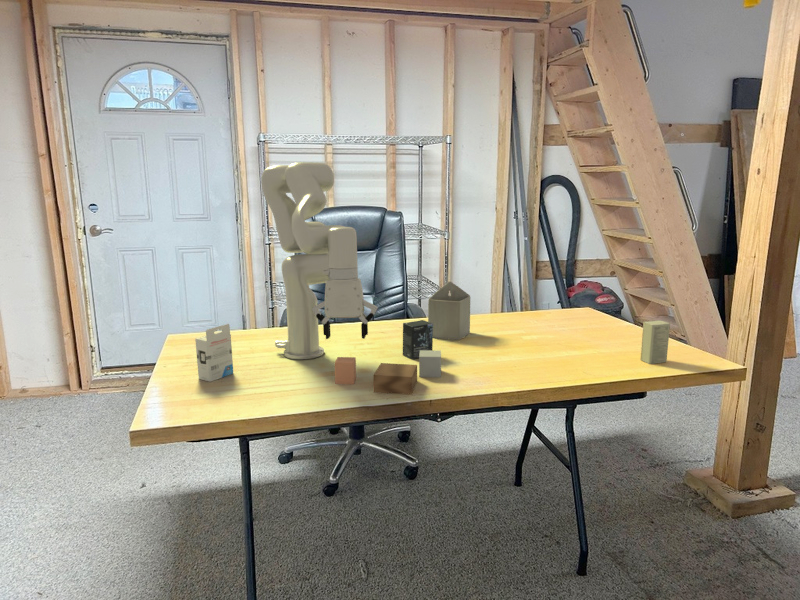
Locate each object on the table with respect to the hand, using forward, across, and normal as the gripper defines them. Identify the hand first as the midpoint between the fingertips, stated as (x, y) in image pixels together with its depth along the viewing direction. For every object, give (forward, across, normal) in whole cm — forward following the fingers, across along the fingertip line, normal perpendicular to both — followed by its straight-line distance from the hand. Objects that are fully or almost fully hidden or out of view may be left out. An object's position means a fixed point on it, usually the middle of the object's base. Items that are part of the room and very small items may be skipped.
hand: (345, 337), depth 151 cm
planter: (+12, +30, +47) cm, 57 cm away
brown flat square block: (+13, +13, -3) cm, 19 cm away
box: (+12, +18, +25) cm, 33 cm away
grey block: (+13, +22, +8) cm, 27 cm away
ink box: (+12, -38, +3) cm, 40 cm away
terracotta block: (+12, -1, +1) cm, 12 cm away
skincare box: (+14, +89, +22) cm, 93 cm away
